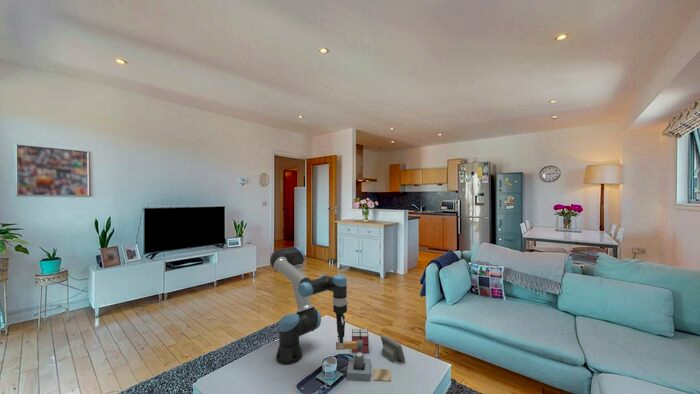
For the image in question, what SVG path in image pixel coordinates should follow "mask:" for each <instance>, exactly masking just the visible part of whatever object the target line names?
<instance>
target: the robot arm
mask: <svg viewBox="0 0 700 394" xmlns="http://www.w3.org/2000/svg"><path fill="white" fill-rule="evenodd" d="M305 258H306V256H305V252H304V250H303V248H302V247H299V246H292V247H283V248H278V249H275V251H273V252H272V254H271V255H270V258H269V263H270V264H269V265H270V266H271V268H272V269H273V270H274V271H276V272H279V273H280V274H282V275H283V276H284V277H285V278H286V279H287V280H289V282H291V284H292V289H293V295H294V299H295V301H296V302H295V303H296V306H297V309H296V310H297V311H296V313H289V314H285V315H284V316H282V317H281V318H280V319H279V323H278V335H279V337H278V341H279V342H278V348H277V352H276V355H275V357H276V358H275V360H276V362H277V363H278V364H281V365H285V366H286V365H293V364H297V362H300V361H301V360H302V358H303V349H302V346H301V343H300V337H301V336H303V335H306V334H308V333H311V332H314V331H315V330H317V329H318V328H319V327H320V326H321V322H322V315H321V313H320V311H319V310H318V309H316V308H315V305H313V304H312V302H311V299H310V297H311V296H313V295H317V294H319V293H324V292H326V291H329V292H332V302H333V303H332V304H333V305H332V309H333V313H334V314H335V317H336V332H337V336H336V337H337V342H338V348H339V349H341V348H344V342H345V341H344V338H345V329H346V327H345V325H346V321H345V315H344V314H346V313H347V311H348V299H349V298H348V293H347V291H348V289H347V287H348V286H347V285H348V281H347V276H346V275H345V274H335V275H334V276H329V275H327V274H326V275H325V274H322V275H320V276H318V278H316V279H311V278H310V277H308V276H307V275H305V273H304V271H303V266H304V262H305V260H306V259H305Z"/></svg>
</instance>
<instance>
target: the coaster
mask: <svg viewBox="0 0 700 394" xmlns="http://www.w3.org/2000/svg"><path fill="white" fill-rule="evenodd" d="M372 376H373V377H372V381H374V382H379V381H380V382H392V379H391V377H392V376H391V369H387V368H385V369H383V368H373V372H372Z"/></svg>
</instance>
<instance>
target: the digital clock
mask: <svg viewBox="0 0 700 394" xmlns="http://www.w3.org/2000/svg"><path fill="white" fill-rule="evenodd" d="M380 340H381V343H382V349H381V351H382V353H381V354H382V356H383V357H384V358H386V359H387V360H389V361H390V362H392V363H394V362H396V361H400V362H405V359H406V356H405V354H404V350H403V347H402V345H401V344H400V343H399V342H397V341H396V340H394V339H392V338H391V337H389V336H387V335H385V334H380Z"/></svg>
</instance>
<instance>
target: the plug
mask: <svg viewBox="0 0 700 394" xmlns="http://www.w3.org/2000/svg"><path fill="white" fill-rule="evenodd" d="M354 358H355V369H354V370H364V358H365V357H364V353H361V352H357V353H354Z"/></svg>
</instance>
